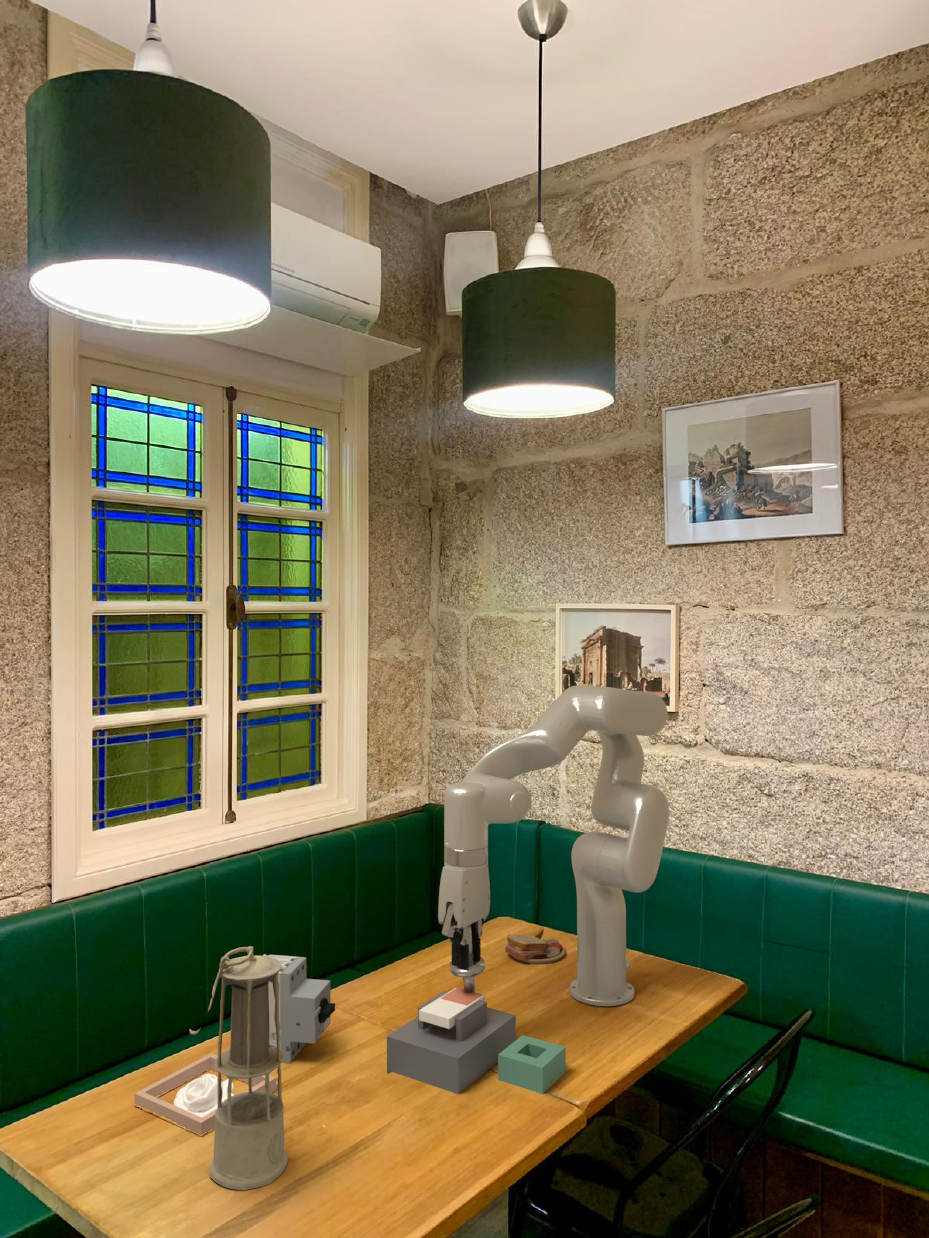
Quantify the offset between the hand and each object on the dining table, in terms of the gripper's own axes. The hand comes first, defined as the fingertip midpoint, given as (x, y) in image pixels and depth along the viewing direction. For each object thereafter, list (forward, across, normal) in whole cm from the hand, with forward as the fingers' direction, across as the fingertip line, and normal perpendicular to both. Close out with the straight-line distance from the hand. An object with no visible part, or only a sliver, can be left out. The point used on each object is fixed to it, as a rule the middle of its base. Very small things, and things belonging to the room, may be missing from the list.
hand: (466, 961), depth 153 cm
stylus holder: (+15, +2, +14) cm, 21 cm away
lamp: (+16, +44, -8) cm, 48 cm away
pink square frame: (+16, +34, -26) cm, 46 cm away
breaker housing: (+15, +4, 0) cm, 16 cm away
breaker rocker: (+6, +4, 0) cm, 8 cm away
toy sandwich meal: (+15, -45, -11) cm, 49 cm away
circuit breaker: (+16, +16, -25) cm, 34 cm away
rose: (+16, +36, -24) cm, 46 cm away
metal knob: (+5, -1, 0) cm, 5 cm away
